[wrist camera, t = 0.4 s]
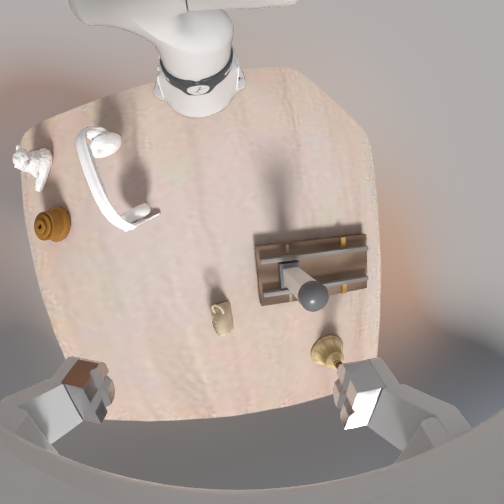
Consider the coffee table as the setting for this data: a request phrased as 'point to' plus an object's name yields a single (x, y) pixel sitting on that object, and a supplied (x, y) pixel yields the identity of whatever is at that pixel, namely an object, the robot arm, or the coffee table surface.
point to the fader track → (313, 265)
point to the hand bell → (328, 351)
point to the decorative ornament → (222, 318)
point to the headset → (100, 148)
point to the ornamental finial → (52, 224)
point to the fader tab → (303, 286)
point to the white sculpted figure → (34, 164)
